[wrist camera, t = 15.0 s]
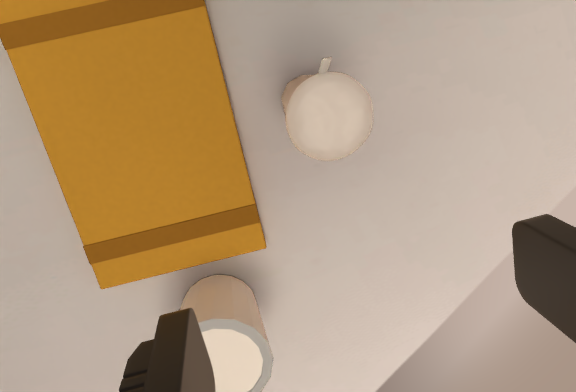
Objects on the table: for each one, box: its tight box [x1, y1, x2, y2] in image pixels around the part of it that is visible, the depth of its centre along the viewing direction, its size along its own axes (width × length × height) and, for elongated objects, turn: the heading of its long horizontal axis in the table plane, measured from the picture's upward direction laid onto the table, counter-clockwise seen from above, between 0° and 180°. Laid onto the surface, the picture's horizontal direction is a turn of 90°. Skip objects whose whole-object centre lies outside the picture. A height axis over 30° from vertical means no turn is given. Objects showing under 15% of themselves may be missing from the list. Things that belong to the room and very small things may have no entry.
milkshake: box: [281, 57, 373, 161], centre depth 27 cm, size 5×5×10 cm
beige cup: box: [180, 275, 273, 392], centre depth 33 cm, size 7×7×7 cm
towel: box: [0, 0, 266, 289], centre depth 31 cm, size 12×20×1 cm, turn 12°
